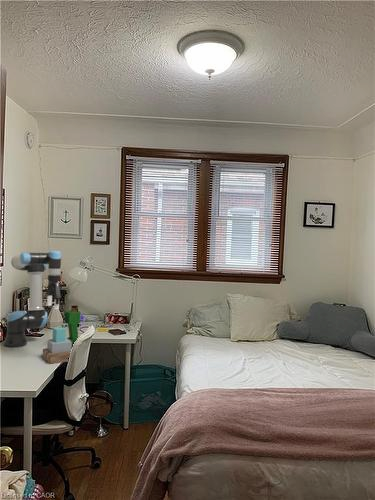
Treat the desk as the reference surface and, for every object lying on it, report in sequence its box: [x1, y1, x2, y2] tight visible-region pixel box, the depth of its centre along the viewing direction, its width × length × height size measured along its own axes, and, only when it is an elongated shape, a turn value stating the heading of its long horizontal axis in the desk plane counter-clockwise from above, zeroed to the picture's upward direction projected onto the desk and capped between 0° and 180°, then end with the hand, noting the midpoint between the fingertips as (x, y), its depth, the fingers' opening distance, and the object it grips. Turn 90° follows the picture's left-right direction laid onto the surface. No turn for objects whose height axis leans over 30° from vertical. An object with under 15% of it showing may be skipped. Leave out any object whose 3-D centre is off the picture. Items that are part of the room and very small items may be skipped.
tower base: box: [42, 347, 71, 365], centre depth 249 cm, size 16×16×6 cm
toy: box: [64, 304, 81, 347], centre depth 275 cm, size 10×14×30 cm
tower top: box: [46, 337, 73, 354], centre depth 249 cm, size 12×12×6 cm
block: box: [51, 326, 67, 343], centre depth 249 cm, size 6×6×8 cm
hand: (52, 307), depth 251 cm, fingers open, 13 cm apart
